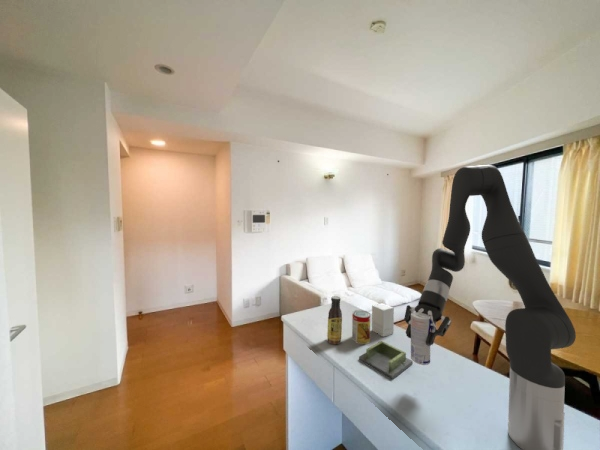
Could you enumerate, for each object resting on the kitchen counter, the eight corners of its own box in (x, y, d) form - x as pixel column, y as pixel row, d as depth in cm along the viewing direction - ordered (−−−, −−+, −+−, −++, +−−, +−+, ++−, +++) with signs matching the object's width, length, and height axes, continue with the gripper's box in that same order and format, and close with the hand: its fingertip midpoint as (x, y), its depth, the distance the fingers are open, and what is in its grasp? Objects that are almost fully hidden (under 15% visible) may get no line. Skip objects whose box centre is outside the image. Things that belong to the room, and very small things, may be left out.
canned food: (373, 342, 102) (374, 315, 101) (359, 345, 99) (359, 318, 98) (362, 333, 109) (363, 308, 109) (348, 336, 106) (349, 311, 106)
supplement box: (394, 333, 109) (394, 307, 109) (382, 337, 106) (383, 310, 105) (382, 327, 116) (382, 302, 115) (371, 330, 112) (371, 305, 112)
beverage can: (433, 367, 71) (433, 319, 71) (413, 365, 72) (413, 318, 72) (426, 356, 76) (426, 312, 76) (408, 355, 77) (408, 311, 77)
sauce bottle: (330, 346, 98) (330, 300, 97) (325, 338, 104) (325, 295, 103) (344, 344, 100) (344, 299, 99) (338, 337, 106) (338, 294, 105)
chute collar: (412, 364, 86) (412, 353, 86) (392, 379, 78) (392, 367, 78) (379, 347, 97) (379, 337, 97) (359, 359, 89) (359, 349, 89)
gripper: (410, 285, 84) (392, 326, 77) (454, 295, 73) (438, 344, 66) (417, 296, 87) (400, 337, 80) (460, 308, 76) (446, 356, 69)
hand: (417, 340), depth 73 cm, fingers closed on beverage can, 5 cm apart
